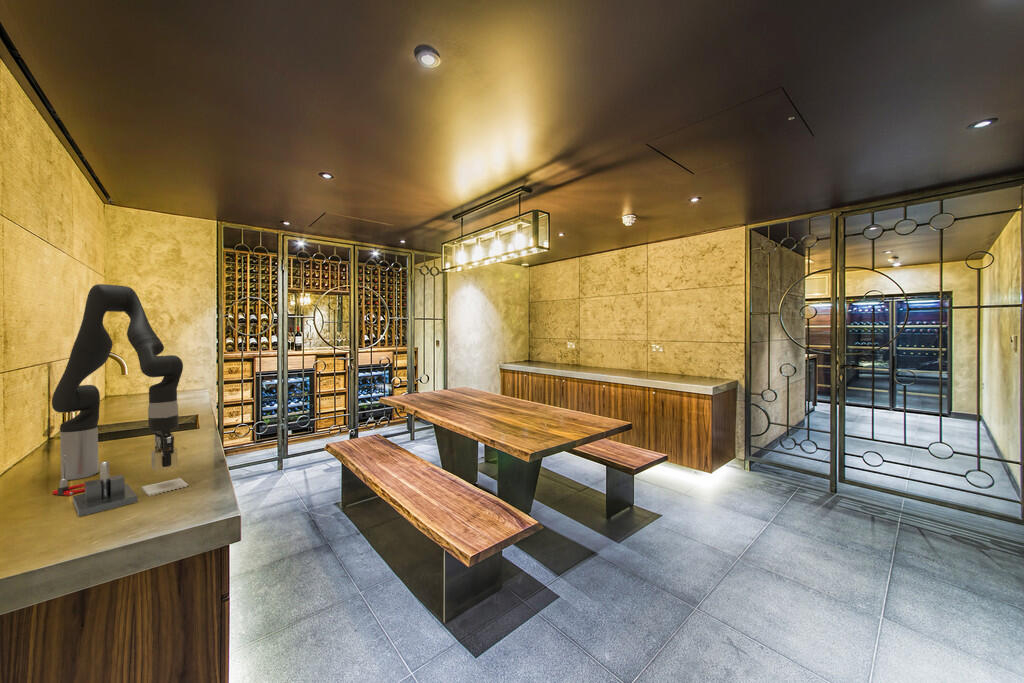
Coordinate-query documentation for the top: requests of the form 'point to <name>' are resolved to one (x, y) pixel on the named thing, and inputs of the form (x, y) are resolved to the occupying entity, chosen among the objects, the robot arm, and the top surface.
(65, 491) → the tow hook
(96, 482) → the gray base plate
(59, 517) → the top surface
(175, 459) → the collar
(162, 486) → the pad
